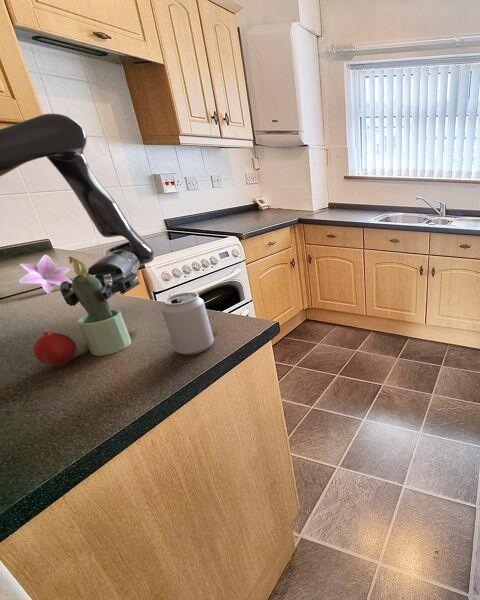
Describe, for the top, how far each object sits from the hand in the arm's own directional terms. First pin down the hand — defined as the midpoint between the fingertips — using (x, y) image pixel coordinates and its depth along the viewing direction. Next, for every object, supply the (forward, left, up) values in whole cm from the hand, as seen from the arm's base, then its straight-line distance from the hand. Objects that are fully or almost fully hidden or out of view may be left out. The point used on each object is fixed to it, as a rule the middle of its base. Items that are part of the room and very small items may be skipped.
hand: (85, 299), depth 67 cm
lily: (-28, +53, -13) cm, 61 cm away
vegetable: (0, +3, -12) cm, 12 cm away
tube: (0, +3, -12) cm, 13 cm away
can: (+17, -5, -13) cm, 22 cm away
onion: (-7, -2, -13) cm, 15 cm away
